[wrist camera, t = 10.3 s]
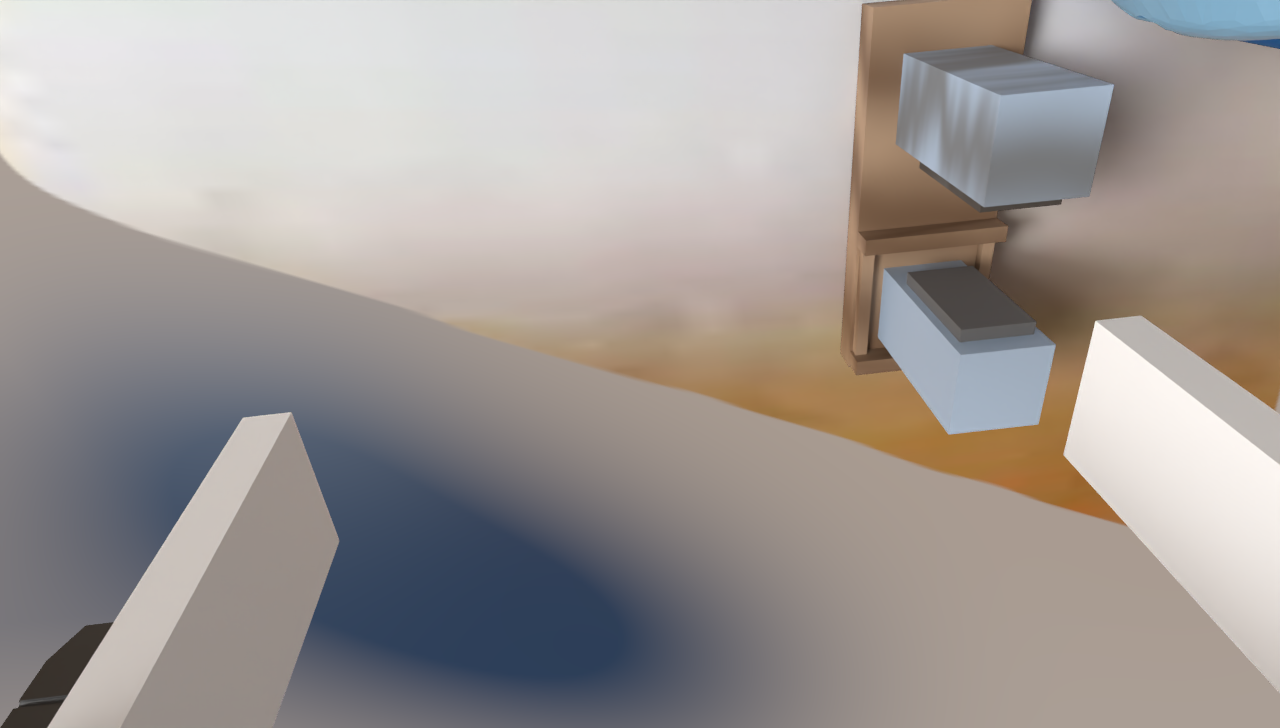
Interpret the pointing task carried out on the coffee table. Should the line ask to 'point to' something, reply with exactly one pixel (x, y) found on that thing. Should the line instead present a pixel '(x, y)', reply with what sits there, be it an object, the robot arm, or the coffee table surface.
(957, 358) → the block
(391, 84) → the coffee table surface
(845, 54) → the coffee table surface
